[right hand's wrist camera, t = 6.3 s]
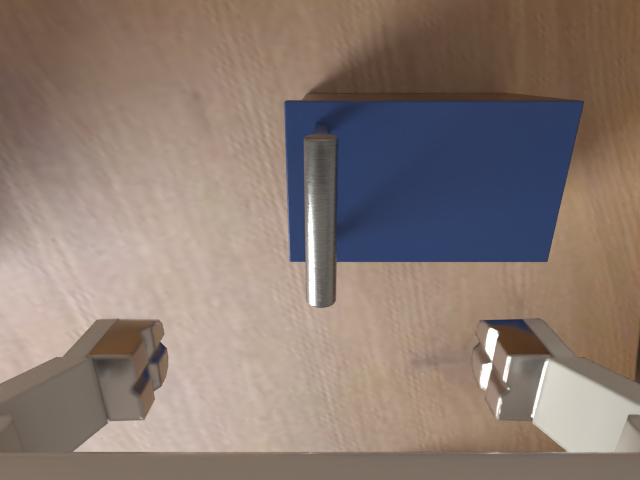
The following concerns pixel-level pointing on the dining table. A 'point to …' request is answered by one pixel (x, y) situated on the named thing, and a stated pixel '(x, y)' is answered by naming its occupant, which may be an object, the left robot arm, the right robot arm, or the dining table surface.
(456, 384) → the dining table surface
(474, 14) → the dining table surface
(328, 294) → the lid
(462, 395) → the dining table surface
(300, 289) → the dining table surface
